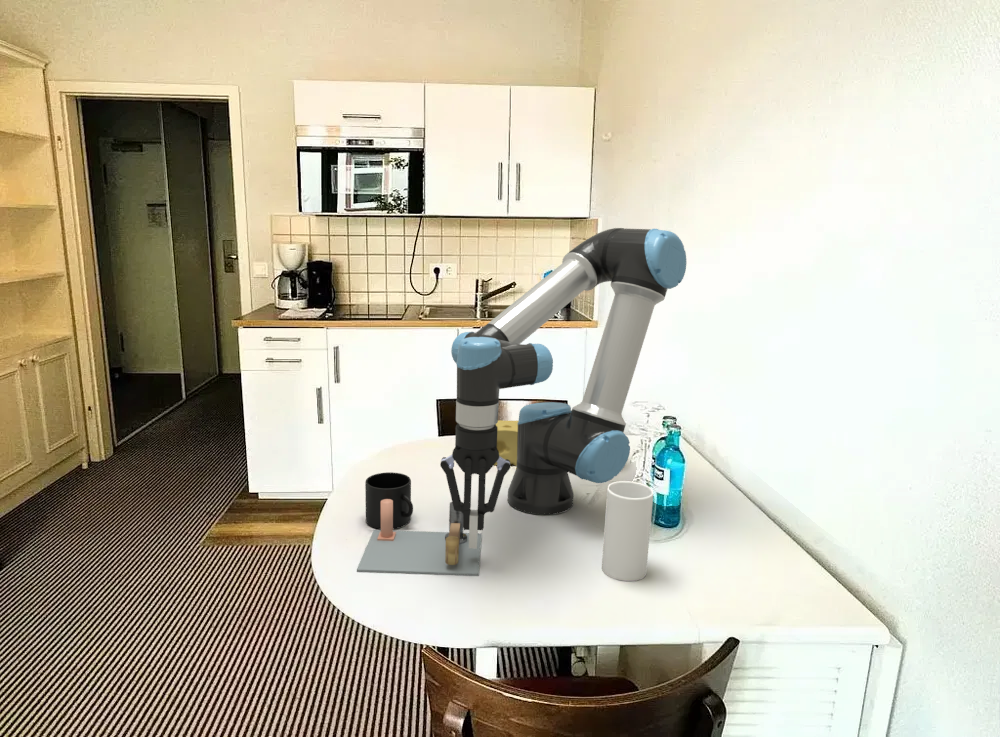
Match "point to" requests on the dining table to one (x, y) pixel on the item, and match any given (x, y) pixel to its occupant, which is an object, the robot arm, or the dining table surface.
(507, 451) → the cheese
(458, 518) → the pivot post
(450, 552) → the gate
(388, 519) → the post
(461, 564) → the mat
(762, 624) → the dining table surface
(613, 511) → the cup
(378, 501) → the mug
